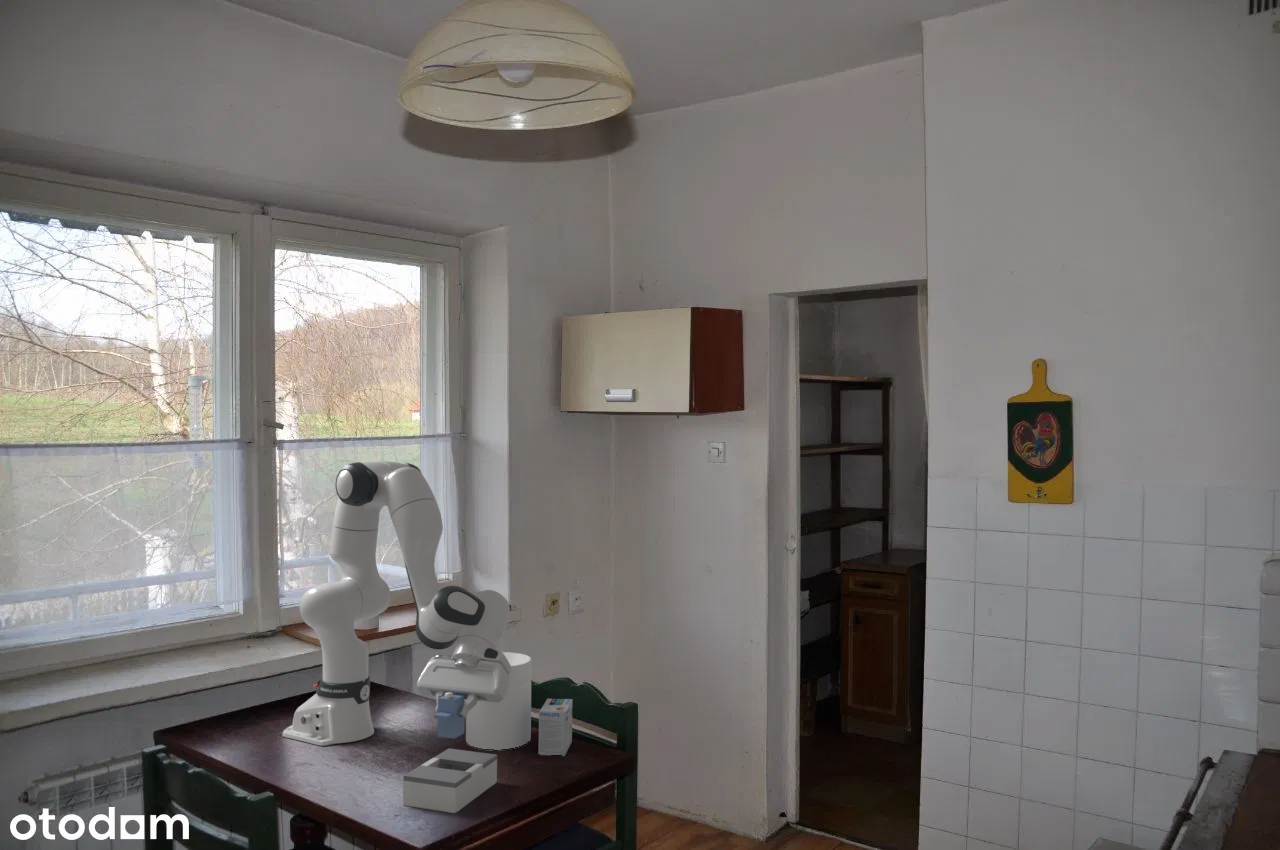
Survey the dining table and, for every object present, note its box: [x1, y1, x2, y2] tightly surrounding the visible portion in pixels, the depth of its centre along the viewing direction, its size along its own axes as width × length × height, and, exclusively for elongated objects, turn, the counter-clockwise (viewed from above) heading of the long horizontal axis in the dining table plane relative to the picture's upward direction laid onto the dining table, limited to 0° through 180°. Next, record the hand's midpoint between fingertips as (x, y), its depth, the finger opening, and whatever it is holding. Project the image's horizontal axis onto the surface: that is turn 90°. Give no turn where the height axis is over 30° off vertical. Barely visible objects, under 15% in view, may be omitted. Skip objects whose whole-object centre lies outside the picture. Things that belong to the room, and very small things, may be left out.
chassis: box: [402, 748, 498, 814], centre depth 197 cm, size 12×18×6 cm, turn 161°
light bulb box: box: [538, 698, 573, 757], centre depth 227 cm, size 11×7×11 cm, turn 175°
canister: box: [465, 651, 533, 751], centre depth 233 cm, size 16×16×20 cm
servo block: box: [434, 692, 465, 739], centre depth 198 cm, size 4×8×9 cm, turn 161°
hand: (449, 714), depth 197 cm, fingers closed on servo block, 4 cm apart
